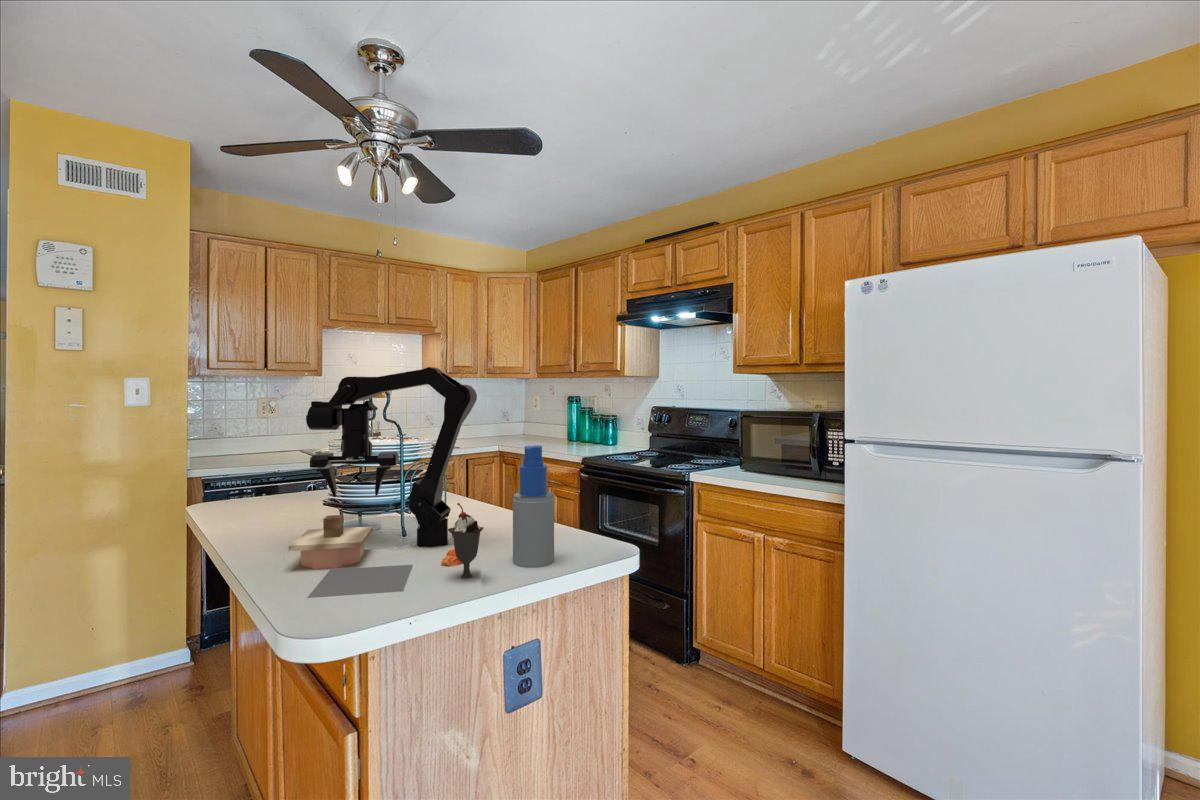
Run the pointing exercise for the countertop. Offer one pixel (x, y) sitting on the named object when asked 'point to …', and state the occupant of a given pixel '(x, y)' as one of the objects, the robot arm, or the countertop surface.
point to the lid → (332, 536)
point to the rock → (451, 559)
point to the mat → (362, 581)
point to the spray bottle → (533, 513)
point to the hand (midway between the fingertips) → (356, 496)
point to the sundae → (466, 540)
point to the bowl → (331, 557)
